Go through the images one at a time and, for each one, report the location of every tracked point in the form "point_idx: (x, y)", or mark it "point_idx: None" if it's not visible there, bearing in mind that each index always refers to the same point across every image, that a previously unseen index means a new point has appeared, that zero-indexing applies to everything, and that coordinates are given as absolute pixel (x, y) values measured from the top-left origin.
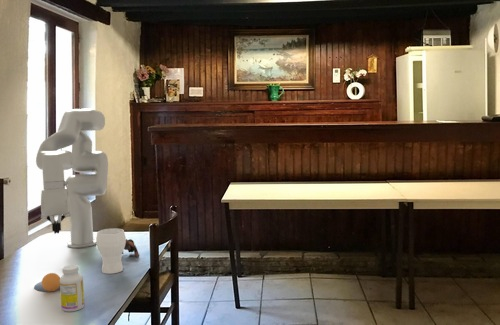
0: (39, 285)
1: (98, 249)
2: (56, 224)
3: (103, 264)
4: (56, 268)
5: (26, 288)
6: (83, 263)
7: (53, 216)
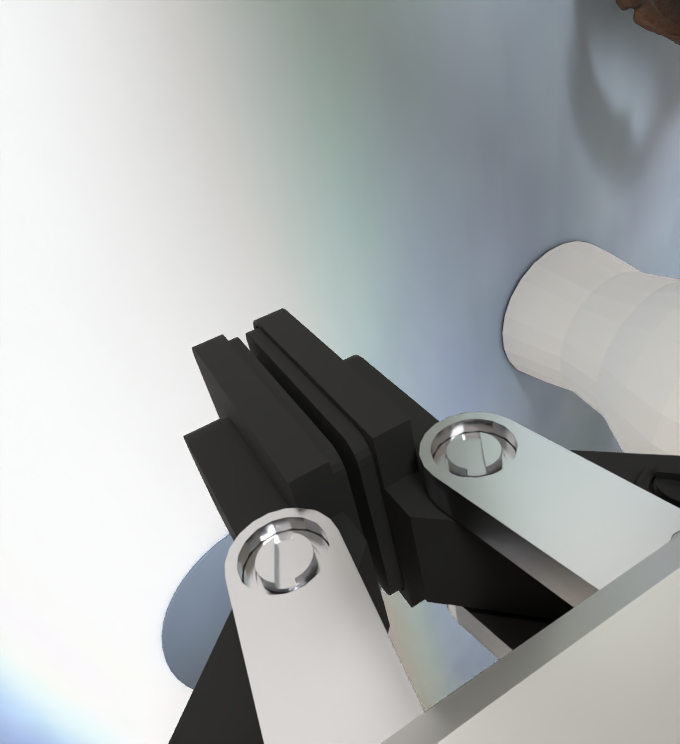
0: (197, 650)
1: (628, 451)
2: (383, 581)
3: (554, 378)
4: (125, 285)
5: (128, 700)
6: (339, 113)
7: (397, 703)
